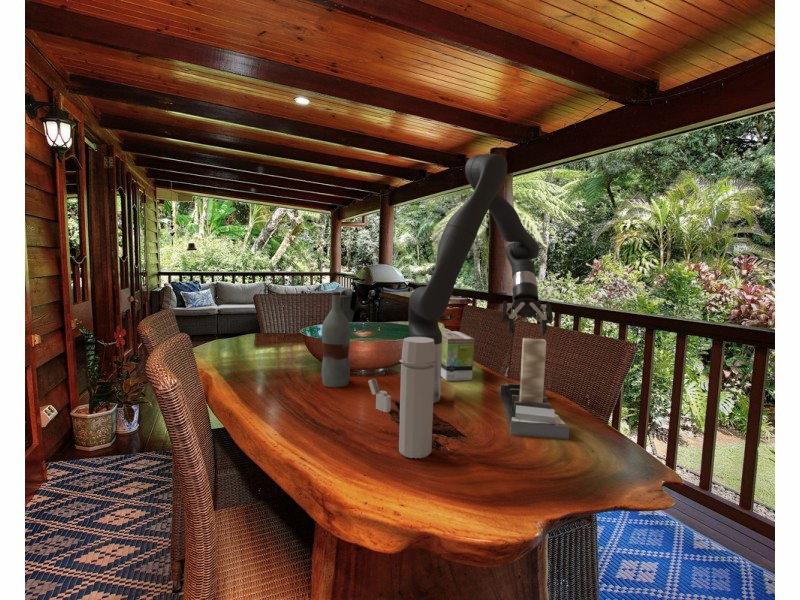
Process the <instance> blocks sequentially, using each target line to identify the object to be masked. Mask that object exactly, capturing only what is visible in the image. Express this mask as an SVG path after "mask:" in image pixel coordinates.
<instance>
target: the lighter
mask: <svg viewBox="0 0 800 600" xmlns="http://www.w3.org/2000/svg"><path fill="white" fill-rule="evenodd" d="M367 382H368V385H369V388H370V391H371V394H372V396H373V395H375V410H376V409H378V410H377V411H379V410H380V411H379V412H382V411H383V413H385V412H386V414H387V413H390V412H391V408H392V407H391V404H392V399H391V398H392V397H391V395H389V394H388V392H387V391H385V390H380V388H379V385H378V382H377V379H376V378H372V379H369V380H368V381H367Z"/></svg>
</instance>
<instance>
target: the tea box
mask: <svg viewBox="0 0 800 600" xmlns="http://www.w3.org/2000/svg"><path fill="white" fill-rule="evenodd" d="M441 333H442V355H441V377H442V378H443V379H444V381H447V382H449V381H452V382H453V381H456V382H457V381H472V380H473V374H474V373H473V371H474V370H473V369H474V367H473V366H474V354H475V353H474V351H475V338H474V337H471V336H470V335H467V334H465V333H463V332H461V331H456V330H455V331H441Z"/></svg>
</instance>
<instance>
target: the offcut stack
mask: <svg viewBox="0 0 800 600" xmlns="http://www.w3.org/2000/svg"><path fill="white" fill-rule="evenodd" d="M512 421H518V422H530V423H545V424H559V425H566V423H565V422H564V421H563V420H562V419H561V417H560V416H559V415H558V414H556V413H555V409H553V408H551V409H545V408H536V407H527V406H518V405H516V413H515V417H512Z"/></svg>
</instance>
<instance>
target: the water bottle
mask: <svg viewBox="0 0 800 600" xmlns="http://www.w3.org/2000/svg"><path fill="white" fill-rule="evenodd" d="M399 362H400V363H401V364H400V391H399V392H400V396H399V428H398V429H399V431H398V432H399V436H398V437H399V439H398V440H399V441H398V450H399V453H400V455H402V456H403V457H406V458H409V459H412V458H415V459H414V460H419V459H425V458H427V457H428V456H429V455H430V454H431V453H432V446H433V444H432V443H433V442H432V441H433V422H434V421H433V417H434V415H433V414H434V403H433V391H434V365H433V364H436V363H437V362H435V345H434V340H433V339H431V338H426V337H411V336H408V337H404V338H403V342H402V351H401V359H399ZM417 458H419V459H417Z"/></svg>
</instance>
